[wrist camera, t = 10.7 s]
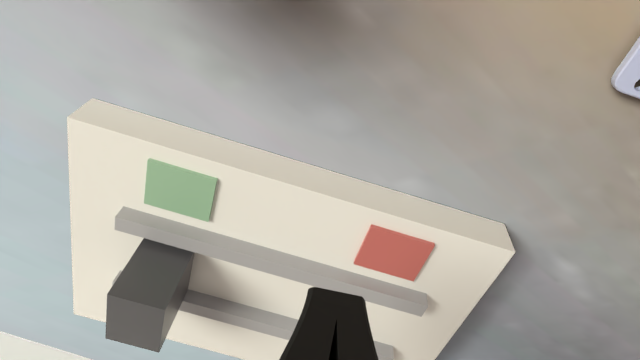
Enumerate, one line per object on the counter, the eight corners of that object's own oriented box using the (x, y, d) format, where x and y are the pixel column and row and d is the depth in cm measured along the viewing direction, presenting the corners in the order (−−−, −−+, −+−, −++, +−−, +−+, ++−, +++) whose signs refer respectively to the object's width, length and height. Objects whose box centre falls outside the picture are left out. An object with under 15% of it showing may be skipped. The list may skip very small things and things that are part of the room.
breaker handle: (195, 249, 21) (165, 310, 18) (187, 290, 23) (159, 352, 20) (145, 234, 21) (106, 294, 18) (141, 277, 23) (105, 338, 20)
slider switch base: (504, 223, 21) (520, 264, 19) (401, 372, 29) (403, 414, 26) (92, 98, 20) (55, 125, 18) (92, 287, 27) (65, 325, 25)
